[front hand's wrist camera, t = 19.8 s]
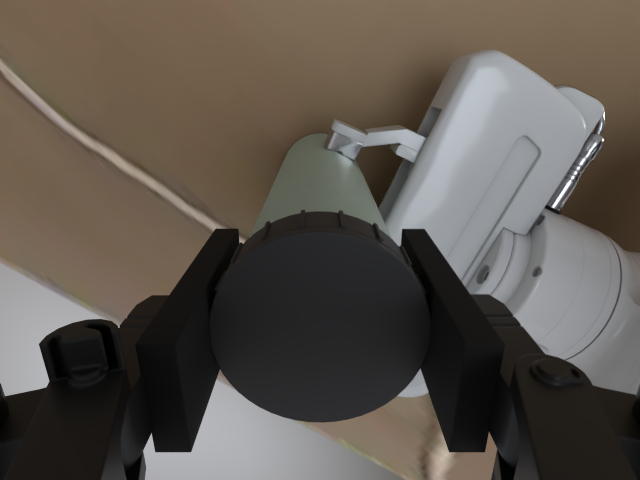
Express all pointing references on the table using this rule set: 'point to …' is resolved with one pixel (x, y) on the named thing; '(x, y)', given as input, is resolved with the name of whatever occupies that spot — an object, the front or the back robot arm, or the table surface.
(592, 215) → the table surface
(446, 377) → the front robot arm
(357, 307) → the lid
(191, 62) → the table surface
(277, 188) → the bottle
